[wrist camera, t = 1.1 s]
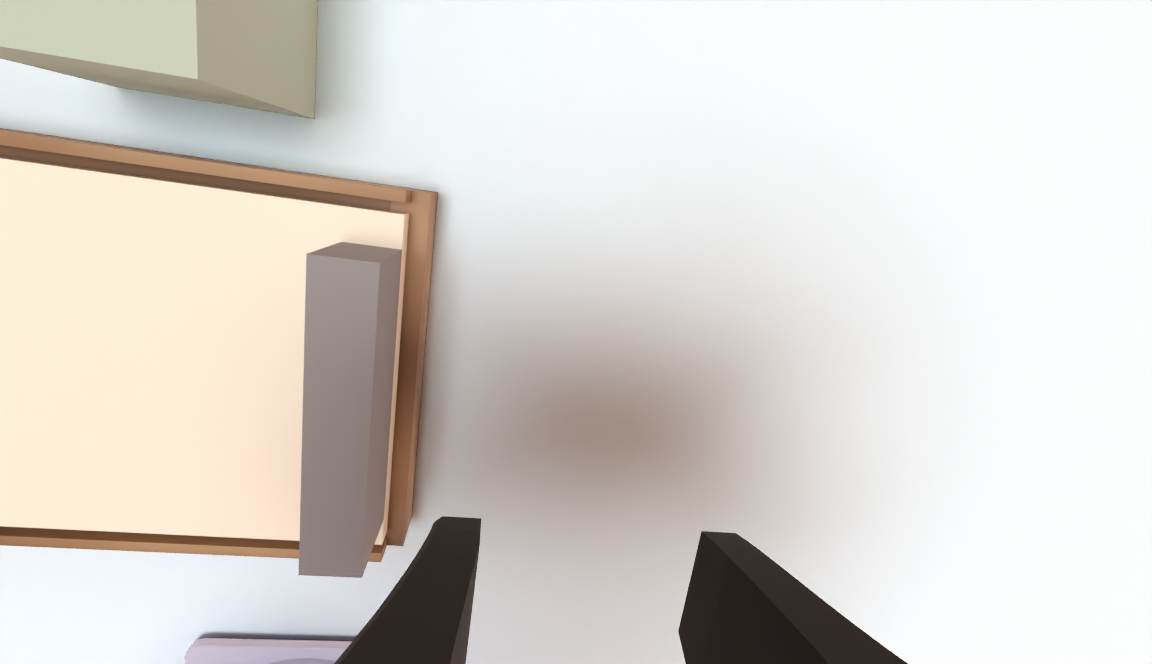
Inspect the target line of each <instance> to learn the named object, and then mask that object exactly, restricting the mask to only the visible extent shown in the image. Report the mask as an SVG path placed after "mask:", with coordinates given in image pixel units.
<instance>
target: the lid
mask: <svg viewBox="0 0 1152 664" xmlns="http://www.w3.org/2000/svg"><path fill="white" fill-rule="evenodd" d="M408 224H409V213H404V212H397V211H389V210H382V209H375V208H368V207H361V206H354V205H347V204H339V203H332V202H325V201H318V200H311V199H304V198H297V197H289V196H282V195H275V194H268V193H261V192H254V191H247V190H239V189H232V188H225V187H218V186H211V185H204V184H197V183H189V182H182V181H175V180H168V179H161V178H154V177H147V176H139V175H132V174H125V173H118V172H111V171H104V170H97V169H89V168H82V167H75V166H68V165H61V164H54V163H47V162H39V161H32V160H25V159H18V158H11V157H4V156H0V526H5V527H26V528H46V529H67V530H87V531H108V532H128V533H149V534H170V535H190V536H211V537H231V538H252V539H272V540H293V541H299V575H311V576H337V577H362V576H363V573H364V570H365V568H366V565H367V562H368V560H369V557H370V554H371V552H372V549H373V546H374V544H375V545H382V544H383V541H384V538H385V535H386V532H387V526H388V511H389V497H390V483H391V468H392V454H393V440H394V425H395V411H396V396H397V382H398V368H399V353H400V339H401V325H402V310H403V296H404V281H405V267H406V253H407V238H408Z"/></svg>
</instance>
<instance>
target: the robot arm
mask: <svg viewBox="0 0 1152 664" xmlns="http://www.w3.org/2000/svg"><path fill="white" fill-rule="evenodd" d="M480 528H481V519H477V518H460V517H441V518H440V519H438V520H437V521H436V522H434V524H433V526H432V529H431V531H430V533H429V535H428V536H427V538H426V540H425V542H424V544H423V545H422V547H421V549H420V550H419V552H418V553H417V555H416V557H415V558H414V560H413V561H412V563H411V564H410V566H409V567H408V569H407V570H406V572H405V573H404V575H403V576H402V577H401V579H400V580H399V582H398V583H397V584H396V586H395V587H394V589H393V590H392V591H391V593H390V594H389V595H388V597H387V598H386V600H385V601H384V602H383V604H382V605H381V606H380V608H379V609H378V610H377V612H376V613H375V614H374V616H373V617H372V618H371V619H370V621H369V622H368V623H367V624H366V625H365V627H364V628H363V629H362V630H361V632H360V633H359V634H358V635H357V636H356V638H355V639H354V640H353V641H312V640H268V639H223V638H203V639H199V640H196V641H195V642H194V643H193V644H192V645H191V646H190V648H189V649H188V651H187V652H186V656H185V659H186V664H465V663H466V654H467V646H468V637H469V629H470V620H471V612H472V603H473V595H474V586H475V578H476V570H477V561H478V553H479V544H480ZM679 636H680V640H681V644H682V649H683V653H684V657H685V662H686V664H907V663H906V662H904V661H903V660H902V659H900V658H899V657H897V656H896V655H895V654H893V653H892V652H891V651H889V650H888V649H886V648H885V647H884V646H882V645H881V644H879V643H878V642H877V641H875V640H874V639H873V638H871V637H870V636H869V635H867V634H866V633H865V632H863V631H862V630H861V629H859V628H858V627H857V626H855V625H854V624H853V623H852V622H850V621H849V620H848V619H846V618H845V617H844V616H842V615H841V614H840V613H839V612H837V611H836V610H835V609H833V608H832V607H831V606H830V605H828V604H827V603H826V602H824V601H823V600H822V599H821V598H819V597H818V596H817V595H816V594H814V593H813V592H812V591H811V590H809V589H808V588H807V587H805V586H804V585H803V584H802V583H800V582H799V581H798V580H797V579H795V578H794V577H793V576H792V575H790V574H789V573H788V572H787V571H785V570H784V569H783V568H782V567H780V566H779V565H778V564H776V563H775V562H774V561H773V560H771V559H770V558H769V557H767V556H766V555H765V554H764V553H762V552H761V551H760V550H758V549H757V548H756V547H754V546H753V545H752V544H750V543H749V542H748V541H746V540H745V539H743V538H742V537H740V536H739V535H737V534H736V533H721V532H704V531H702V532H701V537H700V541H699V545H698V550H697V554H696V558H695V562H694V567H693V571H692V575H691V580H690V584H689V588H688V592H687V597H686V601H685V605H684V610H683V614H682V618H681V622H680V627H679Z"/></svg>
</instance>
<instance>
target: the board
mask: <svg viewBox="0 0 1152 664" xmlns="http://www.w3.org/2000/svg"><path fill="white" fill-rule="evenodd" d="M0 156H4V157H11V158H18V159H25V160H32V161H39V162H47V163H54V164H61V165H68V166H75V167H82V168H89V169H97V170H104V171H111V172H118V173H125V174H132V175H139V176H147V177H154V178H161V179H168V180H175V181H182V182H189V183H197V184H204V185H211V186H218V187H225V188H232V189H239V190H247V191H254V192H261V193H268V194H275V195H282V196H289V197H297V198H304V199H311V200H318V201H325V202H332V203H339V204H347V205H354V206H361V207H368V208H375V209H382V210H389V211H397V212H404V213H409V224H408V238H407V253H406V267H405V281H404V296H403V310H402V325H401V339H400V353H399V368H398V382H397V396H396V411H395V425H394V440H393V454H392V468H391V483H390V497H389V511H388V526H387V532H386V535H385V538H384V541H383V544H382V545H375V544H374V546H373V549H372V552H371V554H370V557H369V560H368V561H371V562H381V560H382V557H383V555H384V552H385V549H386V546H387V545H396V546H403V544H404V541H405V537H406V534H407V530H408V527H409V524H410V520H411V514H412V501H413V489H414V477H415V465H416V452H417V440H418V428H419V415H420V403H421V391H422V379H423V366H424V354H425V342H426V329H427V317H428V305H429V293H430V280H431V268H432V256H433V244H434V231H435V219H436V207H437V194H438V192H431V191H425V190H418V189H411V188H404V187H397V186H391V185H384V184H377V183H370V182H363V181H357V180H350V179H343V178H336V177H329V176H322V175H316V174H309V173H302V172H295V171H288V170H282V169H275V168H268V167H261V166H254V165H248V164H241V163H234V162H227V161H220V160H213V159H207V158H200V157H193V156H186V155H179V154H173V153H166V152H159V151H152V150H145V149H139V148H132V147H125V146H118V145H111V144H105V143H98V142H91V141H84V140H77V139H70V138H64V137H57V136H50V135H43V134H36V133H30V132H23V131H16V130H9V129H2V128H0ZM0 545H8V546H31V547H53V548H76V549H99V550H121V551H144V552H167V553H189V554H212V555H235V556H257V557H280V558H299V541H293V540H272V539H252V538H231V537H211V536H190V535H170V534H149V533H128V532H108V531H87V530H67V529H46V528H26V527H5V526H0Z"/></svg>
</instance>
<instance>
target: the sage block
mask: <svg viewBox="0 0 1152 664" xmlns="http://www.w3.org/2000/svg"><path fill="white" fill-rule="evenodd" d="M317 10H318V0H0V58H2V59H6V60H10V61H14V62H18V63H22V64H26V65H30V66H34V67H38V68H42V69H46V70H50V71H54V72H58V73H62V74H66V75H70V76H74V77H78V78H83V79H87V80H91V81H95V82H99V83H103V84H107V85H111V86H115V87H120V88H126V89H133V90H139V91H145V92H151V93H158V94H164V95H170V96H176V97H182V98H189V99H195V100H201V101H207V102H213V103H220V104H226V105H232V106H238V107H244V108H251V109H257V110H263V111H269V112H276V113H282V114H288V115H294V116H300V117H307V118H313V119H315V88H316V48H317Z"/></svg>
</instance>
